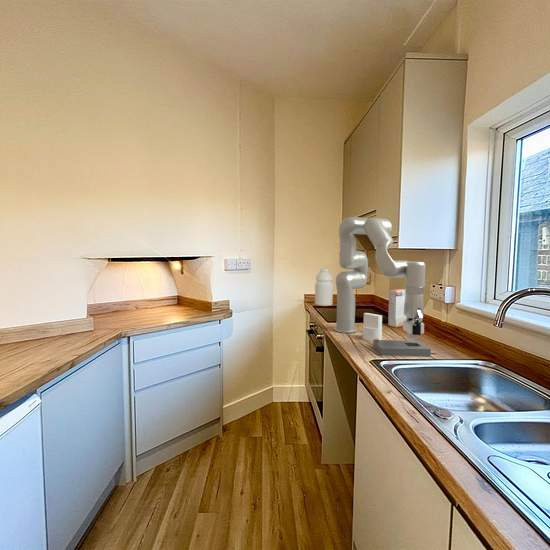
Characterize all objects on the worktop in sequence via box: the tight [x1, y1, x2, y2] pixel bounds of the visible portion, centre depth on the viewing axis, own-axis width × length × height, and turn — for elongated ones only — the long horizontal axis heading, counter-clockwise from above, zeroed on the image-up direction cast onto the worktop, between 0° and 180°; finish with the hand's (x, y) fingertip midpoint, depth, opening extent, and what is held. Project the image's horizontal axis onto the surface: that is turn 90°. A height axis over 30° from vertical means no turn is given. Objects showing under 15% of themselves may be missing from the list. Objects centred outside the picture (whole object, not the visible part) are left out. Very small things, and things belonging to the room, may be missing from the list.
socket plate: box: [372, 339, 432, 357], centre depth 145 cm, size 13×20×4 cm, turn 89°
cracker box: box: [387, 288, 407, 329], centre depth 193 cm, size 14×6×21 cm, turn 115°
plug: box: [402, 321, 425, 339], centre depth 144 cm, size 6×6×6 cm
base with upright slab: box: [362, 312, 383, 342], centre depth 164 cm, size 9×9×12 cm
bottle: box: [314, 268, 334, 307], centre depth 264 cm, size 14×14×28 cm
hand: (413, 332), depth 144 cm, fingers closed on plug, 6 cm apart
